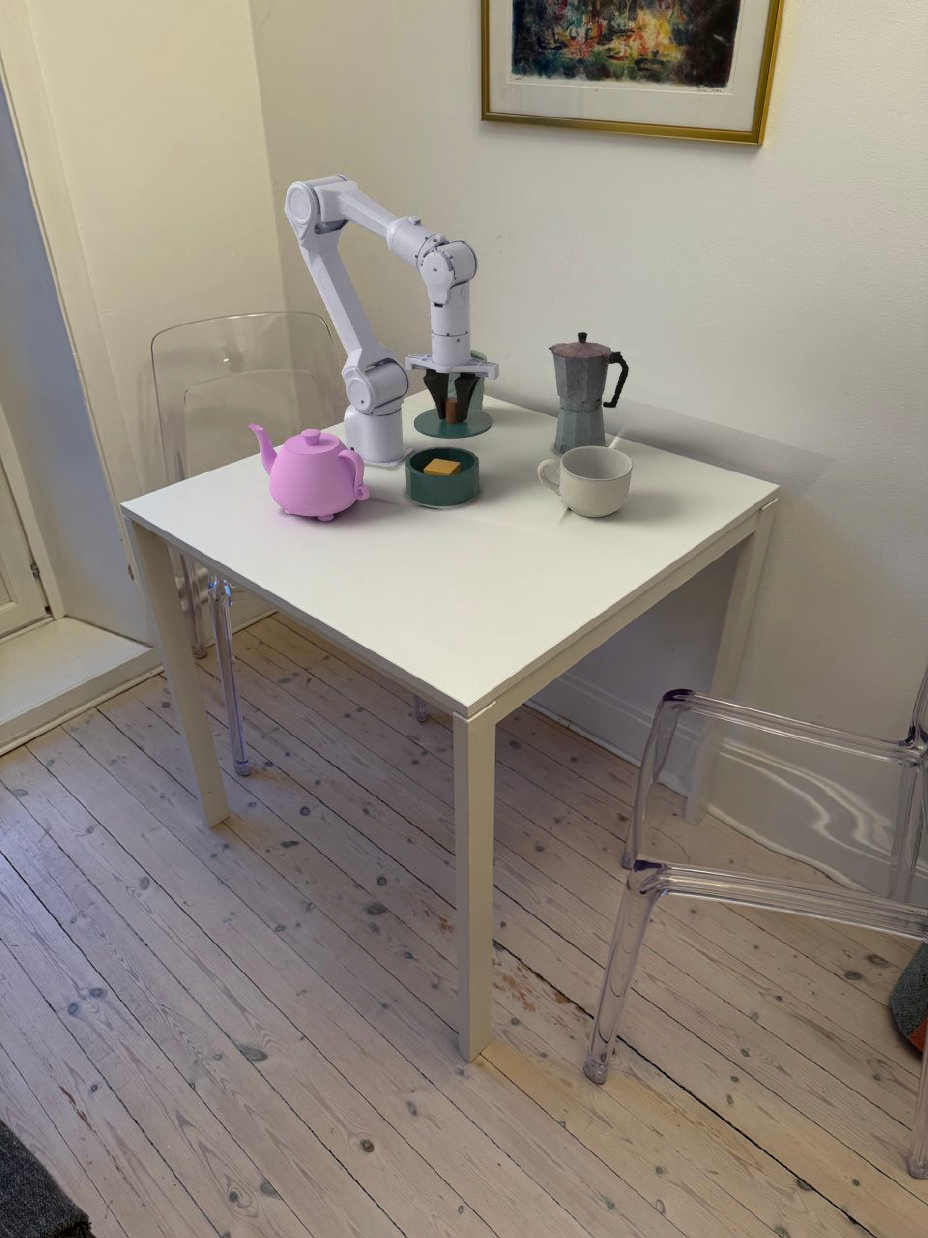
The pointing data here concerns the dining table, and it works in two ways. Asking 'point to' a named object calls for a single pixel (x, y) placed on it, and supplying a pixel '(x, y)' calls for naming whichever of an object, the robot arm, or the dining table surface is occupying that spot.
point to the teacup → (591, 479)
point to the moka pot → (583, 391)
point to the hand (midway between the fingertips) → (452, 418)
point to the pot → (442, 477)
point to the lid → (453, 422)
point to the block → (443, 467)
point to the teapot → (312, 473)
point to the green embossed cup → (479, 390)
